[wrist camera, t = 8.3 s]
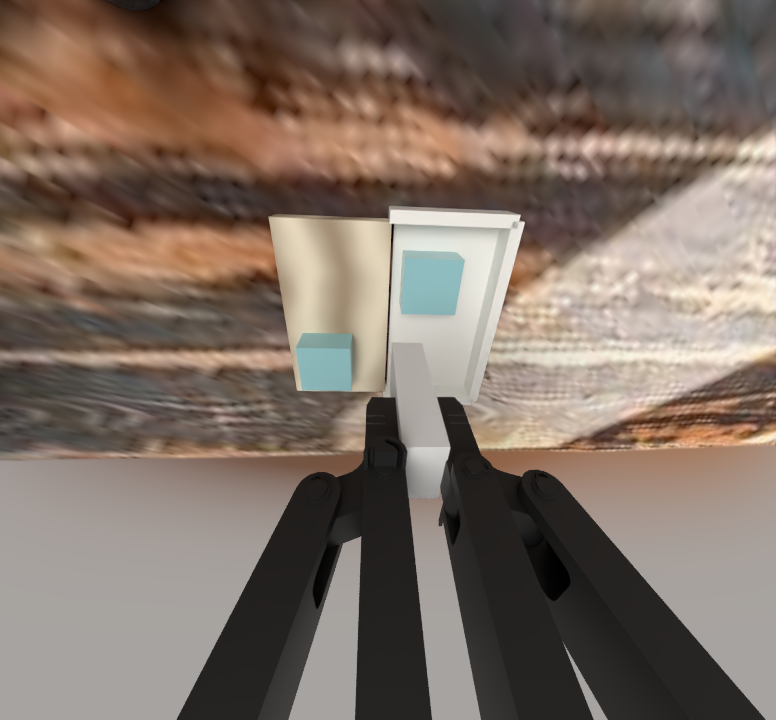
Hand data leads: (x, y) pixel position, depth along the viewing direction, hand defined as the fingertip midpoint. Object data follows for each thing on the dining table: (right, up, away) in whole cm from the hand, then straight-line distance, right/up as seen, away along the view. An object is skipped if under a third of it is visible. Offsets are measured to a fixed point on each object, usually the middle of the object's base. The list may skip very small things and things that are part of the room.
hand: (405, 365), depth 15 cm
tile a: (+3, +8, +13) cm, 16 cm away
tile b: (-7, +1, +16) cm, 17 cm away
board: (-6, +5, +15) cm, 17 cm away
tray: (+4, +5, +16) cm, 17 cm away
